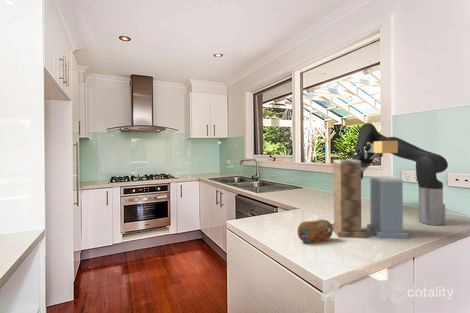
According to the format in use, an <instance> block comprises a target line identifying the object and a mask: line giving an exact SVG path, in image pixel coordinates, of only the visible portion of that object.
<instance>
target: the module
mask: <svg viewBox="0 0 470 313" xmlns="http://www.w3.org/2000/svg"><path fill="white" fill-rule="evenodd" d="M368 144H370V145H371V148H370V149H369V151H367V152H371V153H383V154H391V153H398V141H375V142H374V144H371V143H367V145H368Z"/></svg>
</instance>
